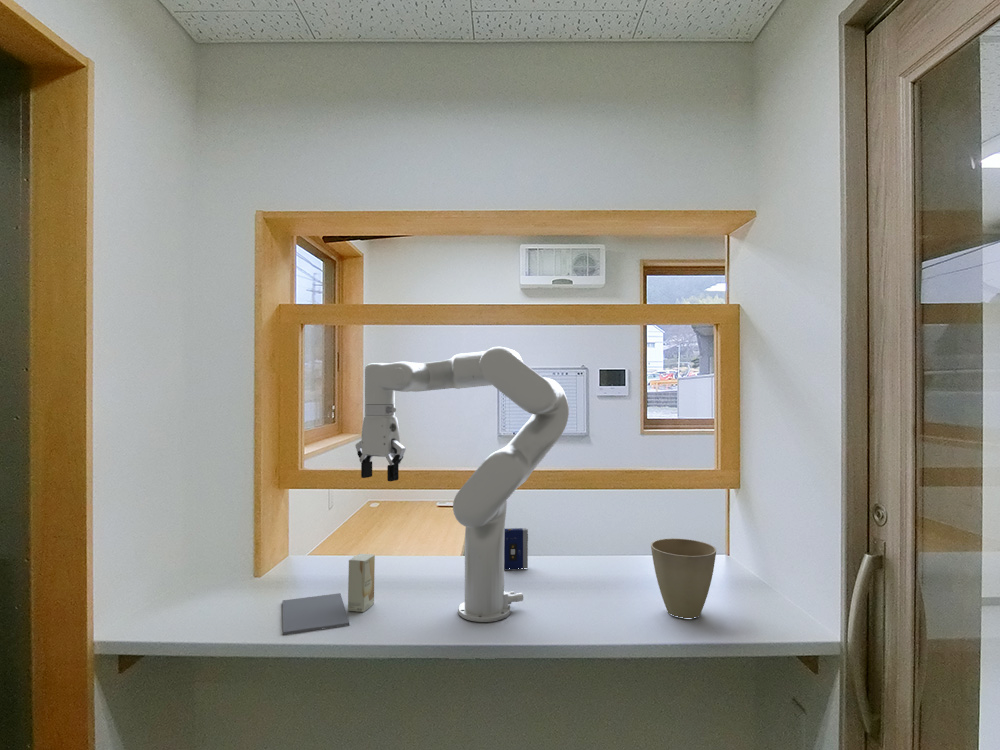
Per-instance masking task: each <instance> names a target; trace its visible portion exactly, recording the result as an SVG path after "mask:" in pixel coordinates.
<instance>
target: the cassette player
mask: <svg viewBox="0 0 1000 750" xmlns="http://www.w3.org/2000/svg"><path fill="white" fill-rule="evenodd" d="M528 541H529V529H528V528H526V527H524V528H523V527H522V528H521V527H520V528H517V527H515V528H505V533H504V569H509V568H510V569H518V568H519V569H521V568H523V569H524V568H528V567H529V563H528V561H529V559H528V558H529V556H528V555H529V549H528V547H529V546H528V544H529V542H528ZM528 569H529V568H528Z"/></svg>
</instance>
